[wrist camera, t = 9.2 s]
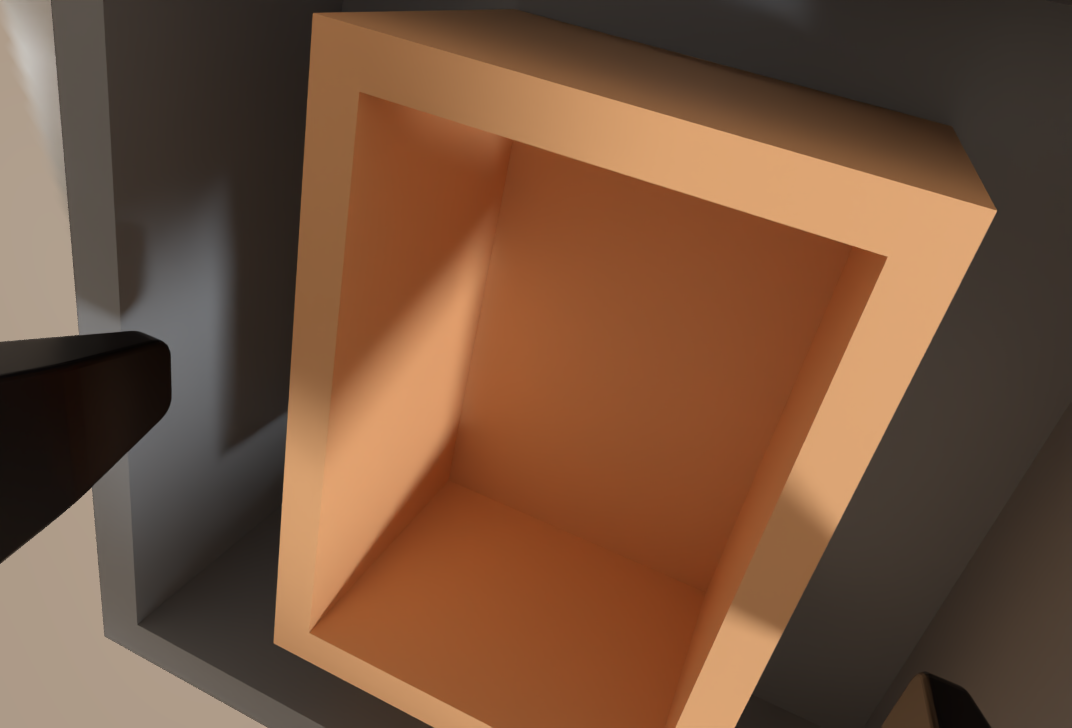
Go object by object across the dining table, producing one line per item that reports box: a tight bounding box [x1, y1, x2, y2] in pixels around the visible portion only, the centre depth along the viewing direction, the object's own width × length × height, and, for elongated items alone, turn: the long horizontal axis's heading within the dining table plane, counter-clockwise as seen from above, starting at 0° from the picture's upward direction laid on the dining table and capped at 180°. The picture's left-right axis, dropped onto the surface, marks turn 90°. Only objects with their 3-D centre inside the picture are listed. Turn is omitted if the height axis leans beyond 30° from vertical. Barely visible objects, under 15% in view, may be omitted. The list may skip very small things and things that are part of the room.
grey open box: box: [51, 0, 1072, 728], centre depth 12 cm, size 14×14×6 cm
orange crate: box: [274, 9, 997, 728], centre depth 11 cm, size 6×9×5 cm
